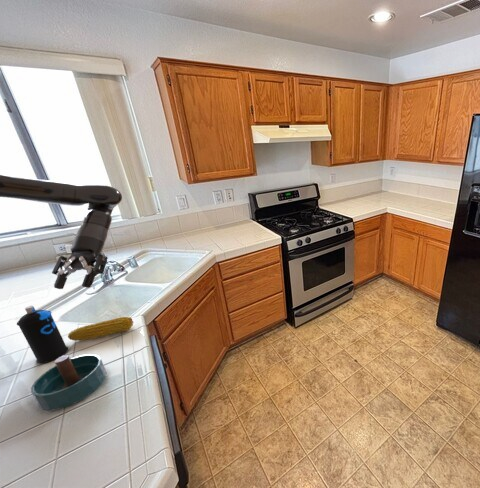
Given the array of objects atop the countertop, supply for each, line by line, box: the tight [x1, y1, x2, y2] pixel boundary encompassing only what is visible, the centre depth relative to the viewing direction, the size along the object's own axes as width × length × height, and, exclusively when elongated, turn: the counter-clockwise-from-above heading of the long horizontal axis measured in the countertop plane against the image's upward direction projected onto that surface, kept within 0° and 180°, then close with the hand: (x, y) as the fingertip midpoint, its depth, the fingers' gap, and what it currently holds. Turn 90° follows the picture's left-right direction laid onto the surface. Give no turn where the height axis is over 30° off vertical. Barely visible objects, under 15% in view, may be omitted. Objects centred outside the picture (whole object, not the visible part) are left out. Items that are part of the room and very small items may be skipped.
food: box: [67, 316, 134, 341], centre depth 102 cm, size 21×6×6 cm, turn 109°
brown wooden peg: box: [54, 354, 85, 389], centre depth 77 cm, size 5×5×11 cm
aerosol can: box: [16, 305, 69, 364], centre depth 90 cm, size 8×8×20 cm
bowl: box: [30, 353, 108, 411], centre depth 78 cm, size 15×15×6 cm
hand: (72, 287), depth 79 cm, fingers open, 8 cm apart
